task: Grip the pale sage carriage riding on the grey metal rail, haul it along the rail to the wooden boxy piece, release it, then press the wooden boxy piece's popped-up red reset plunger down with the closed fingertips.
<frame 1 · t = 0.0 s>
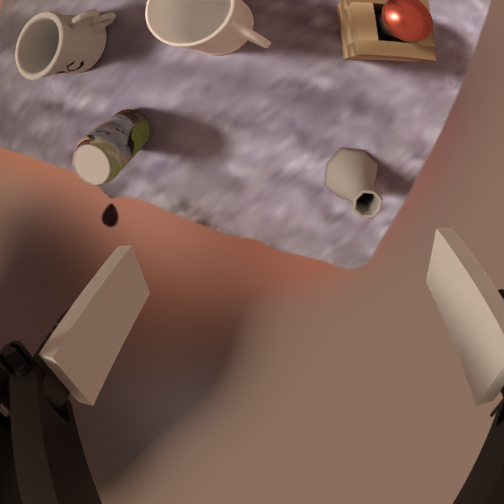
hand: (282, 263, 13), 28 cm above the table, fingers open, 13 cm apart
beverage can: (135, 132, 38), on the table
mug: (229, 30, 30), on the table
mug 2: (92, 38, 30), on the table
plunger: (396, 22, 20), point 9 cm above the table, slide at 0.0 cm
flask: (350, 173, 38), on the table
wooden boxy piece: (372, 33, 27), on the table
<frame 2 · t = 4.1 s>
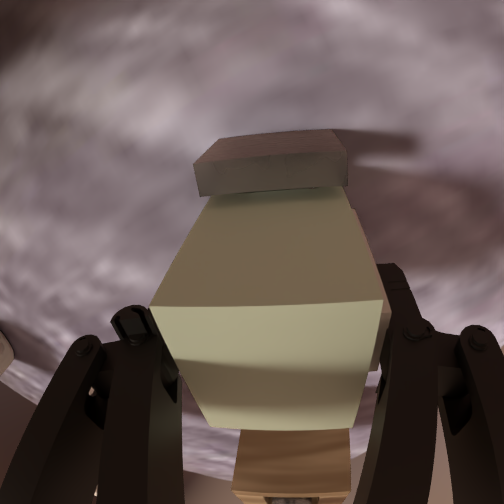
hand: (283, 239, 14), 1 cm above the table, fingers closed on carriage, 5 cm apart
carriage: (280, 288, 11), point 5 cm above the table, slide at 0.0 cm, touching gripper
rail: (291, 309, 18), on the table
wooden boxy piece: (297, 408, 25), on the table
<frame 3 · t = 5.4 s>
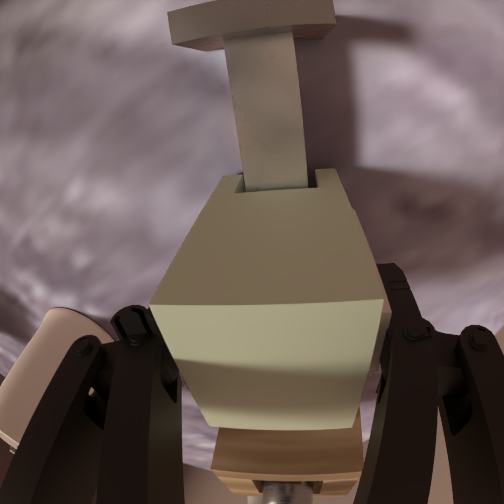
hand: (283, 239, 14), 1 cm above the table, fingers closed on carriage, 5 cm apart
mug: (99, 350, 24), on the table
carriage: (280, 287, 11), point 5 cm above the table, slide at 5.3 cm, touching gripper
rail: (284, 229, 15), on the table
plunger: (288, 492, 14), point 9 cm above the table, slide at 0.0 cm
wooden boxy piece: (295, 376, 22), on the table
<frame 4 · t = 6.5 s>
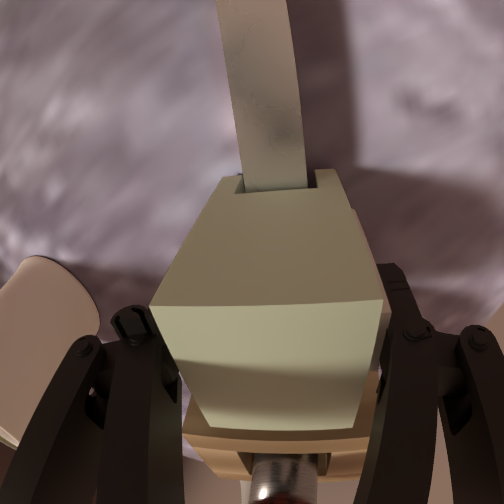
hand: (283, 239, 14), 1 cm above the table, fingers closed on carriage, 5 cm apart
mug: (73, 309, 21), on the table
carriage: (280, 287, 11), point 5 cm above the table, slide at 10.4 cm, touching gripper
rail: (273, 127, 13), on the table
plunger: (285, 472, 11), point 9 cm above the table, slide at 0.0 cm
wooden boxy piece: (293, 332, 19), on the table
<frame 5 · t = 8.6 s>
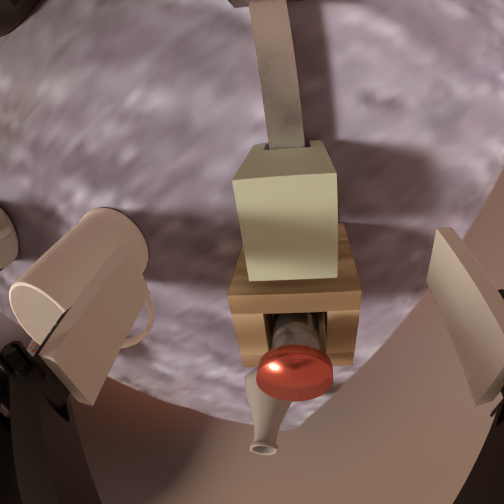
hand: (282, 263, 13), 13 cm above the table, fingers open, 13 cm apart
mug: (125, 253, 30), on the table
mug 2: (6, 227, 30), on the table
carriage: (290, 200, 19), point 5 cm above the table, slide at 10.5 cm
rail: (284, 115, 21), on the table
plunger: (296, 338, 19), point 9 cm above the table, slide at 0.0 cm
flask: (272, 380, 37), on the table
wooden boxy piece: (297, 260, 27), on the table
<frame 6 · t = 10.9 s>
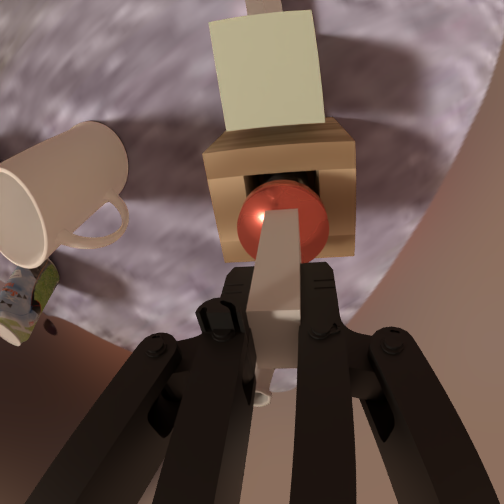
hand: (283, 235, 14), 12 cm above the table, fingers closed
beverage can: (49, 268, 35), on the table
mug: (105, 170, 27), on the table
carriage: (272, 70, 16), point 5 cm above the table, slide at 10.5 cm
rail: (266, 13, 18), on the table
plunger: (284, 201, 18), point 8 cm above the table, slide at 1.1 cm, touching gripper
flask: (264, 323, 35), on the table
wooden boxy piece: (286, 161, 24), on the table
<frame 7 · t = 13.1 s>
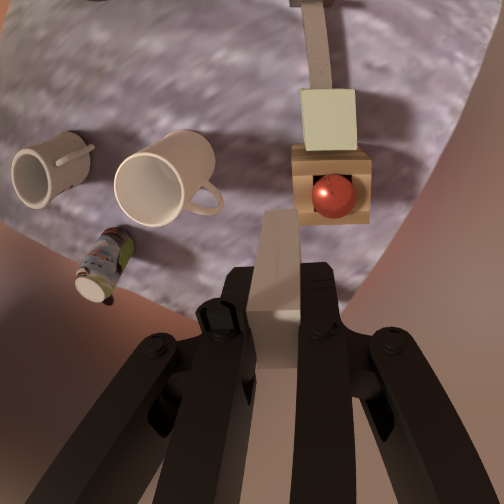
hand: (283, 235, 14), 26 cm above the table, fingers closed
beverage can: (123, 242, 48), on the table
mug: (194, 166, 40), on the table
mug 2: (78, 154, 41), on the table
carriage: (325, 115, 30), point 5 cm above the table, slide at 10.5 cm
rail: (318, 72, 31), on the table
plunger: (330, 186, 32), point 7 cm above the table, slide at 2.5 cm
wooden boxy piece: (324, 169, 38), on the table
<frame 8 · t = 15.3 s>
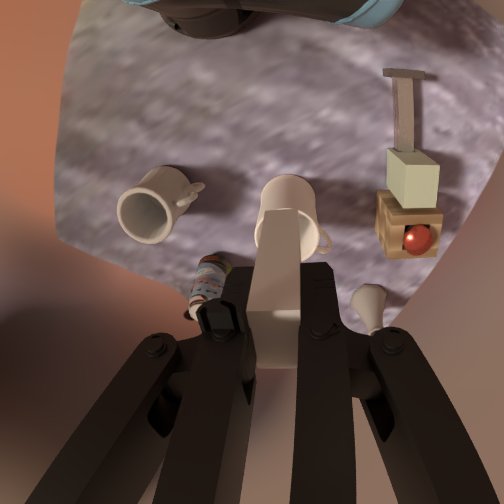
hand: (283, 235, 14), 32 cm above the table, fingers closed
beverage can: (217, 266, 57), on the table
mug: (296, 205, 49), on the table
mug 2: (176, 187, 49), on the table
carriage: (411, 176, 38), point 5 cm above the table, slide at 10.5 cm
rail: (401, 135, 40), on the table
plunger: (411, 229, 41), point 7 cm above the table, slide at 2.5 cm
flask: (367, 297, 57), on the table
wooden boxy piece: (398, 209, 46), on the table
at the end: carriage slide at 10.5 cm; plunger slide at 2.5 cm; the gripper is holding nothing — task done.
